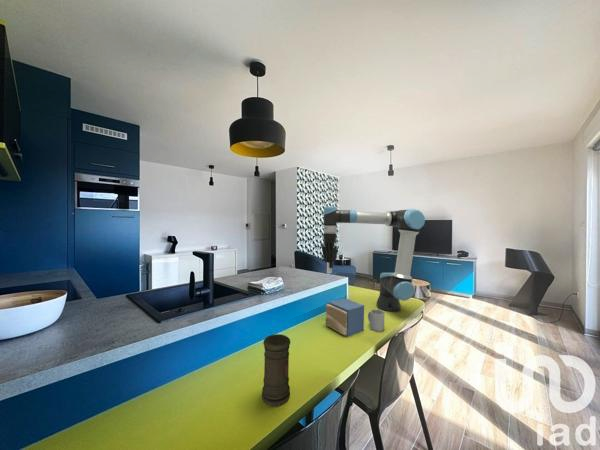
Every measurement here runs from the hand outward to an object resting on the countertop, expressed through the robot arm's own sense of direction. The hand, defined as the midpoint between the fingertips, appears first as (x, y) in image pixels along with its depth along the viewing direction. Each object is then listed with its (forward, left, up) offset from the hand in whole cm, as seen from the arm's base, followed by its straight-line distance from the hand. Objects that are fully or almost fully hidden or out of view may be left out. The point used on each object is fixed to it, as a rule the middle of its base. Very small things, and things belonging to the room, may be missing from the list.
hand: (329, 273), depth 141 cm
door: (+10, +16, -25) cm, 31 cm away
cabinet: (+3, +16, -26) cm, 31 cm away
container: (+58, +38, -26) cm, 74 cm away
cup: (-11, +24, -26) cm, 37 cm away
